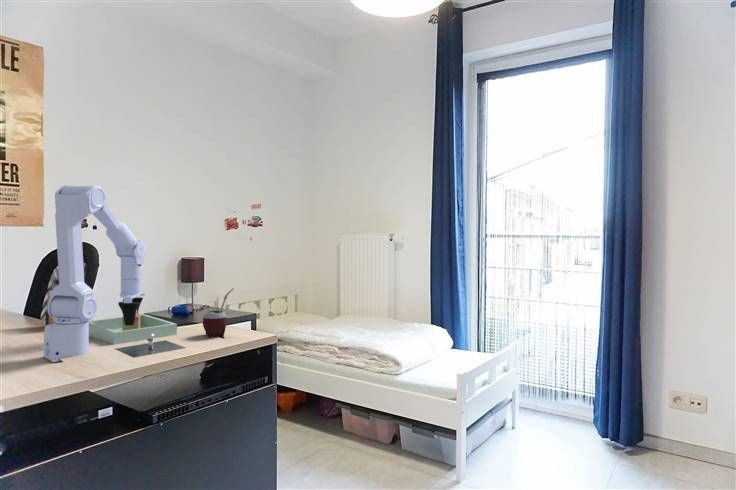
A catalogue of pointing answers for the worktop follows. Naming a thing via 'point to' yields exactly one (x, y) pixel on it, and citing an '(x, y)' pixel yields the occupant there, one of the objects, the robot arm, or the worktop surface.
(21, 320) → the worktop surface
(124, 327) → the square capped bottle
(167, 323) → the bin
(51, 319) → the ammunition clip
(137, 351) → the base
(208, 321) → the mate gourd
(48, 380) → the worktop surface
